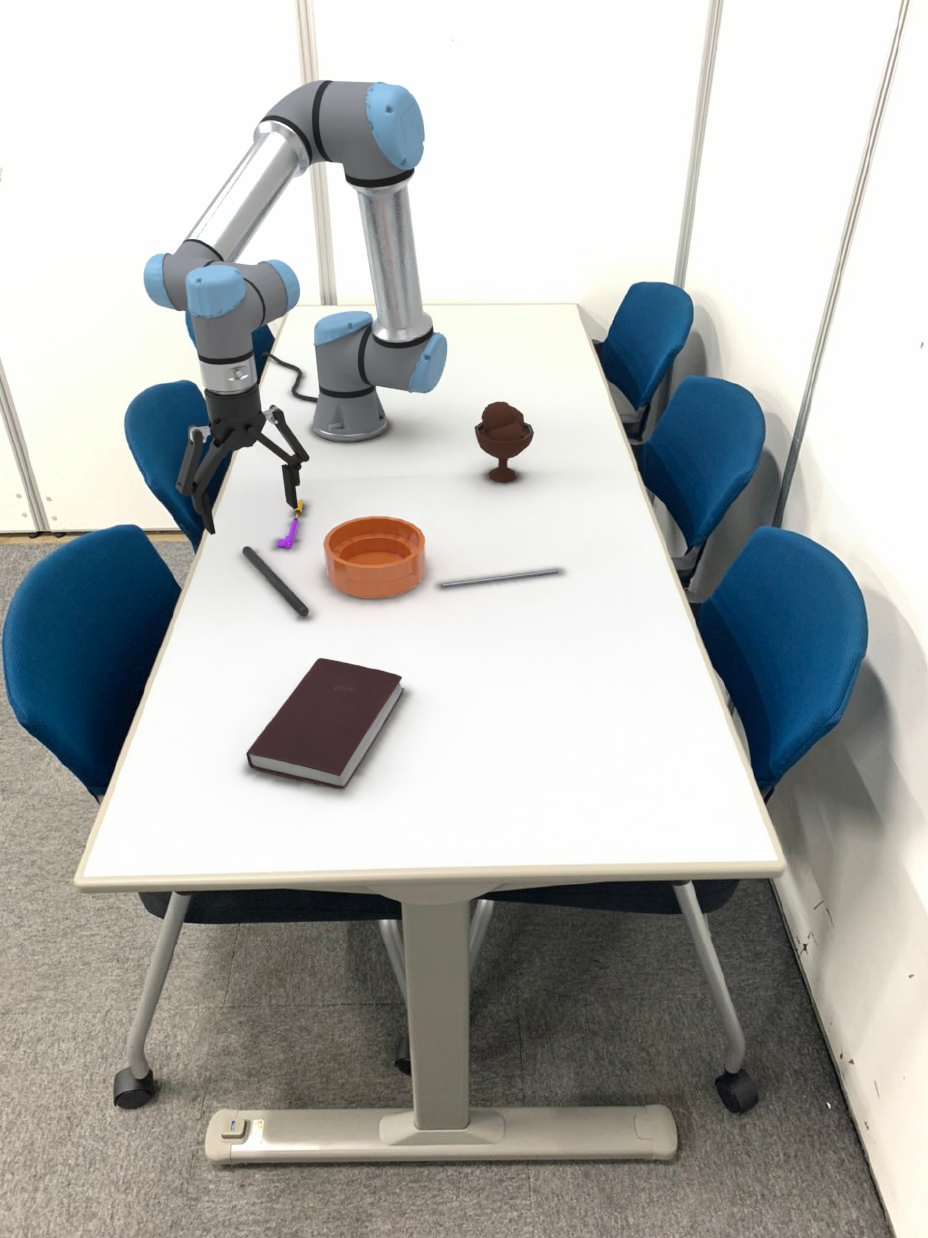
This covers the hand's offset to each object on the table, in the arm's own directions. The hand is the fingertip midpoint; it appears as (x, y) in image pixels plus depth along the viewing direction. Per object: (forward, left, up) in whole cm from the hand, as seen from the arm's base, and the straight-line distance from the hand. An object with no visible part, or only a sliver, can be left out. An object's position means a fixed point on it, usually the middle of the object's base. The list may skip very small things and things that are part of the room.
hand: (252, 517), depth 137 cm
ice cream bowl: (-4, +52, -10) cm, 53 cm away
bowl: (+12, +15, -9) cm, 21 cm away
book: (+40, -8, -10) cm, 42 cm away
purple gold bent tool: (-10, +10, -10) cm, 17 cm away
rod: (+24, +30, -10) cm, 40 cm away
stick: (+5, 0, -9) cm, 10 cm away
